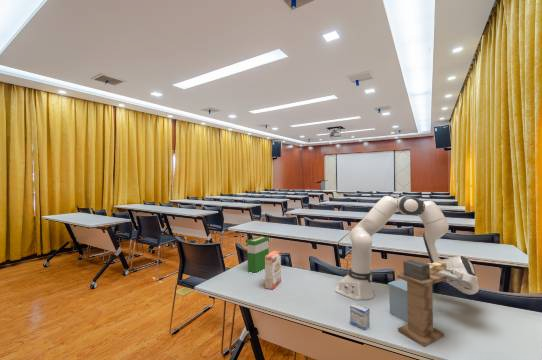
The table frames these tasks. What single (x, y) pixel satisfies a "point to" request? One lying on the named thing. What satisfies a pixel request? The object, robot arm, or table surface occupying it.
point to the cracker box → (272, 269)
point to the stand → (421, 309)
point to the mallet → (422, 269)
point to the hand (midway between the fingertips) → (441, 268)
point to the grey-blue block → (398, 299)
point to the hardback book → (257, 253)
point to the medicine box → (359, 316)
